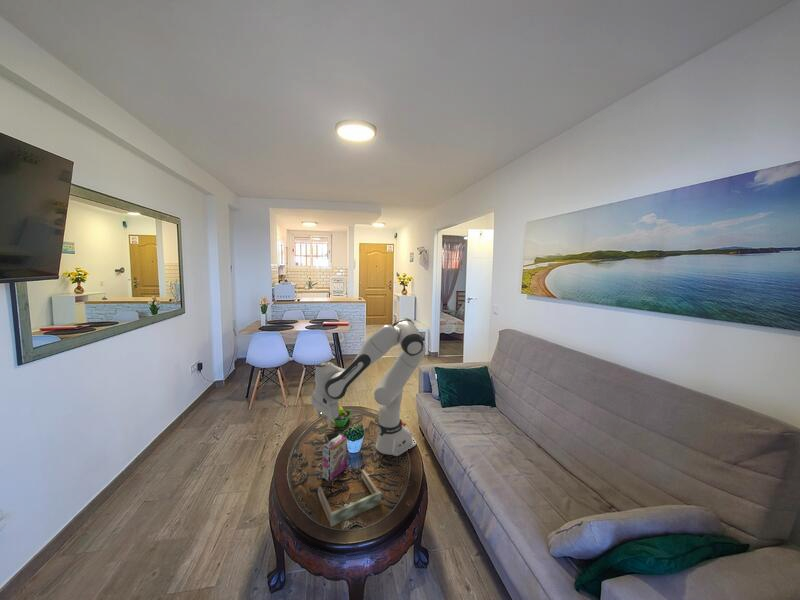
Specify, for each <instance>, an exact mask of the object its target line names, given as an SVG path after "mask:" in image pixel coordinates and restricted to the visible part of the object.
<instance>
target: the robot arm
mask: <svg viewBox="0 0 800 600" xmlns="http://www.w3.org/2000/svg"><path fill="white" fill-rule="evenodd" d="M397 345H400V347H401V349H402V350H401V352H400V353H399V355H397V358H396V359H395V361H394V362H393V364H392V365H391V366H390V368H389V369H388V370H387V372H386V373H385V374H384V375H383V377H382V378H381V380H380V381H379V383H378V384H377V385H376V388H375V390H374V392H373V398H374V400H375V402H376V403H377V404H378V405H379V408H378V422H377V439H376V443H375V449H376V450H377V451H378V452H379V453H381V454H382V455H391V456H394V457H398V456H400V455H402V454H404V453H405V452H407V451H408V449H409V450H410V449H412V448H414V447H415V446H417V441H416V439H415V438H414V436H413V435H412V434H413V433H412V432H411V431H410V429H409V428H408V427H406V425H407V423H406V422H405V421H404V420H402V419H401V418H400V416H401V405H402V399H403V392H404V388H405V387H404V386H405V385H406V384H407V382H408V381H409V380H410V378H411V377H412V375H413V374H414V373H415V371H416V370H417V368H418V367H419V366H420V364H421V362H422V361H423V359H424V356H425V354H426V351H427V349H426V345H425V344H424V338H423V337H422V335H421V333H420V331H419V329H418V328H417V326H416V325H415V322H413V321H412V320H411V319H410V318H407V317H403V318H400V319H398V320H396V321H395V322H393V323H392V324H385V325H383V326H382V327H379V328H378V329H377V330H376V331H375V332H373V334H371V335H370V336H369V337H368V338H367V339H366V340H365V342H364V343H363V345H362V346H361V347H360V349H359V351H358V353H357V355H356V357H355V358H354V360H353V361H352V362H351V363H350V364H349V365H348V366H347V367H346V368H343V367H340V366H337V365H335V364H334V363H333V362H332V361H323V362H320V363H319V364H317V365H316V367H315V370H314V371H315V372H314V374H315V375H314V384H315V386H314V388H313V390H312V393H311V401H310V402H311V406H313V407H314V408H315V410H316V413H317V417H318V418H321V417H323V415H325V416H326V417H327V419H326V424H328V425H330V424H332V421H334V420H333V419H335V418H337V417H338V416H339V406H340V404H339V402H340V400H341V399H342V398H344V397H345V395H346V393H347V391H348V389H349V387H350V385H351V384H352V383H353V382H354V381H355V380H356V379H357V378H358V377H359V376H360V375H361V374H362V373H364V371H365V370H367V369H368V368H369V367H371V366H372V365H374V364H375V363H376V362H377V361H379V360H380V359H381V358H382V357H384V356H385V355H386V354H387V353H388V352H389V351H390V350H391V349H392V348H394V347H395V346H397ZM413 440H414V441H413ZM414 442H415V443H414Z"/></svg>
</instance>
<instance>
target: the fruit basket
mask: <svg viewBox="0 0 800 600" xmlns="http://www.w3.org/2000/svg"><path fill="white" fill-rule="evenodd" d="M351 414H352V411H351V410H347V409H346V410H345V409H344V408H343V407H342V406H341V405H339V416H338V417H337V418H335V419H333V420H332V421H333V422H334V425H335V427H338V428H345V426H346V424H347V423H348V421H349V420H350V417H351Z"/></svg>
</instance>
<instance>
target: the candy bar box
mask: <svg viewBox="0 0 800 600" xmlns="http://www.w3.org/2000/svg"><path fill="white" fill-rule="evenodd" d="M347 439H348V437H346V436H344V435H342V434H339V435H338V436H337V437H335V438H334V439H332V440H330V441H329V442H327V441H326V442H325V443H324V444H322V455H321V456H322V458H321V459H322V466H321V467H322V468H321V469H322V474H321V477H322V479H323V480H326V481H327V482H329V483H330V482H331V481H332V480H333V479H335V478H336V477H337V476H339V475H340V474H341V473H343V472H344V471H345V470H346V469H347V450H348V449H347V443H348V442H347V441H348V440H347Z"/></svg>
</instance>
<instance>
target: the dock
mask: <svg viewBox="0 0 800 600" xmlns="http://www.w3.org/2000/svg"><path fill="white" fill-rule="evenodd" d="M360 476H361V477H360V478H361V480H362V481H363V483H364V485H365V486H366V487H367V489H368V490H369V493H370V494H369V495H367V496H365V497H363V498H361V499H358V500H356V501H354V502H352V503H349V504H347V505H344V506H343V507H340V508H338V509H336V510H334V511H333V510H332V508H331V506H330V503H329V502H328V499H327V497H326V494H325V493H324V490H323V488H322V486H318V487H317V497H318V499H319V501H320V504H321V506H322V508H323V511H324V513H325V515H326V518H327V520H328V522H329V525H330V527H335V526H337V525H338V524H340V523H343V522H345V521H347V520H349V519H352V518H354V517H356V516H358V515H360V514H361V513H364V512H366V511H369V510H370V509H373V508H374V507H377V506H379V505H381V504H382V492H381V490H379V489H378V488H377V487H376V485H375V484H374V482H373V480H372V479H371V478H370V476H369V474H368V472H367V471H366V470H365V469H361V475H360Z"/></svg>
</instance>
